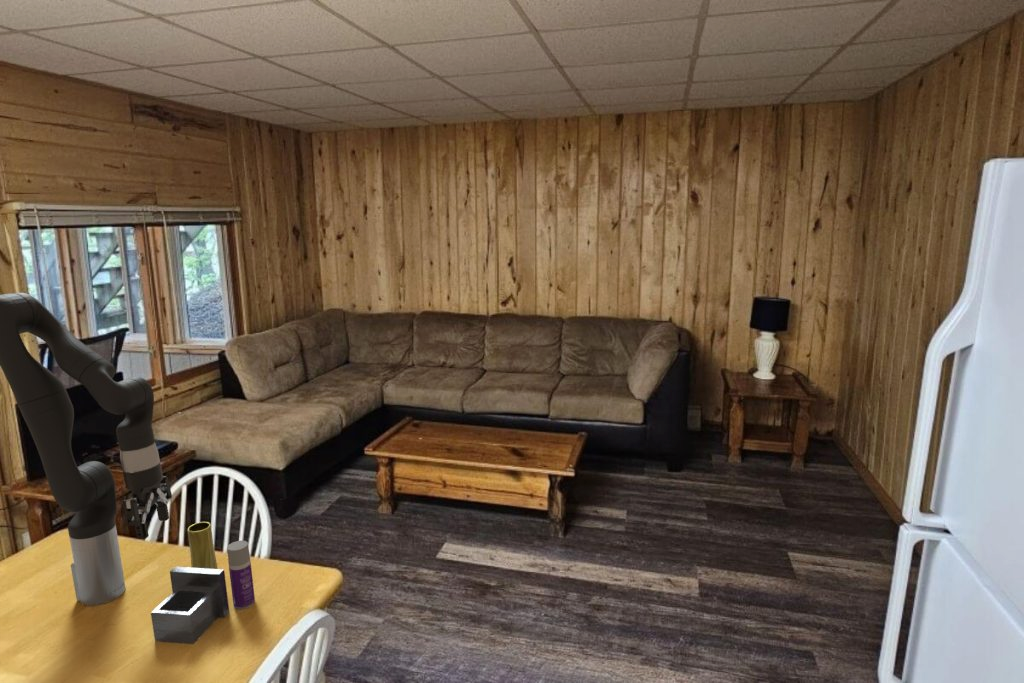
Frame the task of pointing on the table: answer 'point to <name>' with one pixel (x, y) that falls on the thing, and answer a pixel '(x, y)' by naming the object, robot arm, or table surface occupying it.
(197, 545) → the vase
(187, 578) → the cup bracket
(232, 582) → the container
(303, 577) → the table surface
